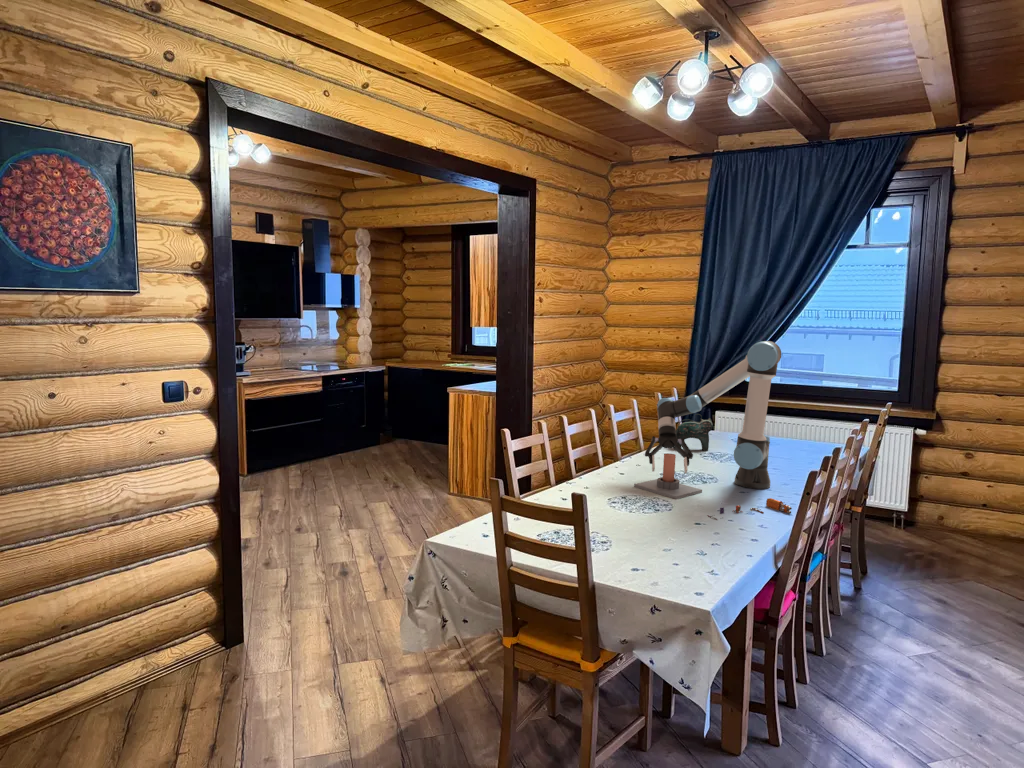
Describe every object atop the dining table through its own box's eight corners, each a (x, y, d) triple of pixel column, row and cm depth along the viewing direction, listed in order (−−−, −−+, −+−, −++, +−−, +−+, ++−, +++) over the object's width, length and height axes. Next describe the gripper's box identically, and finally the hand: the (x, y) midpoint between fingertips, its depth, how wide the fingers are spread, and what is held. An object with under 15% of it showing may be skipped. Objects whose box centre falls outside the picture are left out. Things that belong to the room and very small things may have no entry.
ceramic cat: (710, 449, 375) (712, 414, 372) (711, 452, 368) (714, 415, 366) (673, 447, 378) (676, 411, 376) (674, 449, 372) (676, 413, 369)
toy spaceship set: (792, 514, 261) (793, 504, 260) (726, 525, 245) (726, 514, 244) (769, 506, 271) (770, 496, 270) (704, 517, 254) (705, 506, 254)
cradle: (702, 492, 286) (702, 482, 286) (676, 499, 275) (676, 489, 274) (660, 480, 303) (660, 471, 302) (634, 486, 291) (634, 477, 291)
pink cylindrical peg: (675, 487, 288) (677, 455, 287) (669, 488, 285) (671, 456, 284) (666, 484, 292) (668, 453, 290) (659, 486, 289) (661, 454, 287)
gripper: (694, 435, 300) (698, 477, 287) (637, 432, 302) (639, 473, 289) (697, 426, 294) (701, 467, 281) (639, 423, 297) (641, 464, 284)
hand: (669, 470), depth 285 cm, fingers open, 13 cm apart
